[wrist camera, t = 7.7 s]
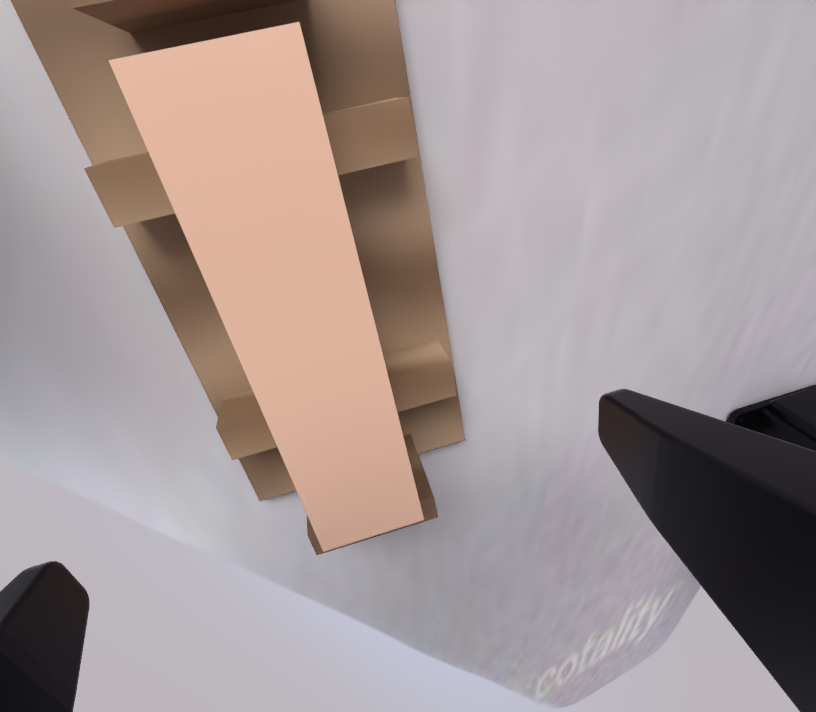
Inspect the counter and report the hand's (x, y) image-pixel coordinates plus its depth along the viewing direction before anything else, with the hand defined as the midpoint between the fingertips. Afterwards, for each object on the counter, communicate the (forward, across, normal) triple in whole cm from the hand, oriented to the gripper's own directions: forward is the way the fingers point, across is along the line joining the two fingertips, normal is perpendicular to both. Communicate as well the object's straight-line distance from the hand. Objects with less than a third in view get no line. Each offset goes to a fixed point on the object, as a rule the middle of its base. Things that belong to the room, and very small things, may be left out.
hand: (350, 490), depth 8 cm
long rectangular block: (+9, 0, 0) cm, 9 cm away
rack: (+12, 0, 0) cm, 12 cm away
